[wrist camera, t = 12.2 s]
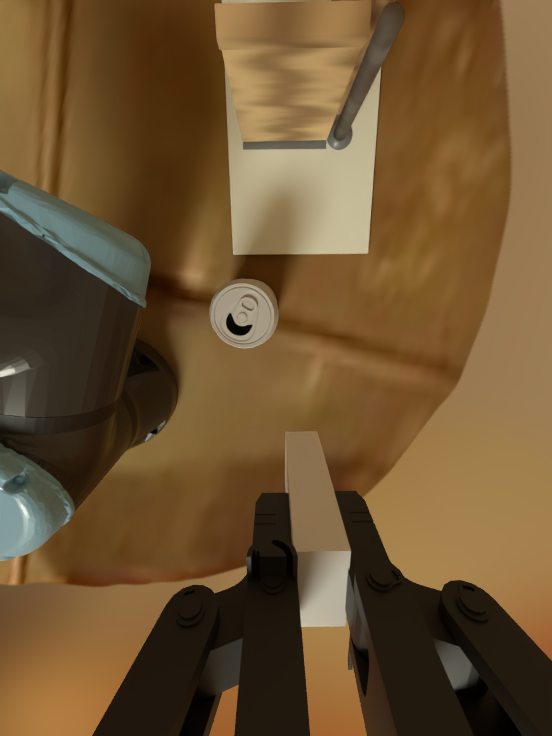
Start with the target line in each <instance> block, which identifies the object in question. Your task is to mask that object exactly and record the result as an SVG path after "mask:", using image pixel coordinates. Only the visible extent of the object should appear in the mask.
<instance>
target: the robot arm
mask: <svg viewBox="0 0 552 736" xmlns="http://www.w3.org/2000/svg"><path fill="white" fill-rule="evenodd" d="M150 268H151V260H150V256H149V253H148V251H147V250H146V248H145V247H144V245H143V244H142V243H141V242H140V241H139V240H137V239H136V238H134V237H133V236H131V235H129V234H128V233H126V232H124V231H122V230H120V229H118V228H116V227H115V226H113V225H111V224H109V223H107V222H105V221H103V220H101V219H99V218H97V217H95V216H93V215H91V214H89V213H87V212H85V211H83V210H81V209H79V208H77V207H75V206H73V205H71V204H69V203H67V202H65V201H63V200H61V199H59V198H57V197H55V196H53V195H51V194H49V193H47V192H45V191H43V190H41V189H39V188H37V187H35V186H32V185H30V184H28V183H26V182H24V181H22V180H19V179H17V178H15V177H13V176H12V175H9V174H7V173H5V172H3V171H1V170H0V561H5V560H9V559H12V558H15V557H17V556H22V555H26V554H28V553H30V552H32V551H34V550H36V549H37V548H39V547H40V546H41V545H43V544H44V543H45V542H46V541H47V540H48V539H49V538H50V537H51V536H52V535H53V534H54V533H55V532H56V531H57V530H58V529H59V528H60V527H61V526H63V525H64V524H66V523H67V522H68V521H69V520H70V519H71V518H72V515H73V513H74V512H75V510H76V509H77V508H78V507H79V506H80V505H81V503H82V502H83V501H84V500H85V499H86V497H87V496H88V495H89V494H90V493H91V492H92V490H93V489H94V488H95V487H96V486H97V484H98V483H99V482H100V481H101V480H102V479H103V477H104V476H105V475H106V474H107V473H108V471H109V470H110V469H111V468H112V467H113V466H114V464H115V463H116V462H117V461H118V460H119V458H120V457H121V456H122V455H123V454H124V452H125V451H126V450H129V449H131V448H133V447H135V446H138V445H140V444H142V443H144V442H146V441H148V440H150V439H151V438H153V437H154V436H156V435H157V434H158V433H159V432H160V431H161V430H162V429H163V428H164V426H165V425H166V424H167V422H168V421H169V420H170V418H171V416H172V415H173V412H174V410H175V407H176V402H177V386H176V381H175V378H174V375H173V373H172V371H171V369H170V367H169V365H168V364H167V362H166V361H165V360H164V358H163V357H162V356H161V355H160V354H159V353H158V352H157V351H156V350H155V349H153V348H152V347H151V346H149V345H148V344H146V343H144V342H142V341H140V340H138V339H136V336H137V332H138V328H139V324H140V320H141V316H142V312H143V308H146V305H147V303H146V300H145V295H146V290H147V284H148V279H149V274H150ZM285 487H286V493H262V494H261V496H260V497H259V499H258V500H257V502H256V507H255V520H254V532H253V545H252V546H251V547H250V548H249V550H248V553H247V556H246V560H247V575H246V576H245V577H244V578H243V580H242V581H240V582H239V583H238V584H236V585H235V586H233V587H231V588H229V589H226V590H223V591H221V592H218V593H214V592H213V591H212V590H211V589H210V588H208V587H206V586H203V585H192V586H189V587H186V588H183V589H182V590H180V591H179V592H178V593H176V594H175V595H173V597H172V598H171V599H170V601H169V602H168V603H167V605H166V606H165V608H164V610H163V611H162V613H161V615H160V617H159V619H158V620H157V622H156V624H155V626H154V628H153V629H152V631H151V633H150V634H149V636H148V638H147V640H146V641H145V643H144V645H143V647H142V649H141V650H140V652H139V654H138V656H137V657H136V659H135V661H134V663H133V665H132V666H131V668H130V670H129V672H128V673H127V675H126V677H125V679H124V681H123V682H122V684H121V686H120V688H119V689H118V691H117V693H116V695H115V696H114V698H113V700H112V702H111V704H110V705H109V707H108V709H107V711H106V712H105V714H104V716H103V718H102V719H101V721H100V723H99V725H98V726H97V728H96V730H95V732H94V734H93V735H92V736H209V734H210V731H211V727H212V724H213V721H214V718H215V715H216V711H217V708H218V705H219V701H220V698H221V695H222V692H223V691H225V690H227V689H230V688H232V687H234V686H236V685H238V684H239V688H238V700H237V712H236V724H235V735H234V736H310V729H309V716H308V704H307V692H306V679H305V667H304V655H303V643H302V630H301V627H316V626H317V627H322V626H323V627H325V626H345V624H346V615H347V620H348V624H349V629H350V640H349V652H348V670H350V669H351V670H352V667H353V668H354V673H355V678H356V683H357V688H358V692H359V698H360V702H361V708H362V713H363V718H364V723H365V728H366V733H367V736H552V661H551V660H550V659H549V658H548V657H547V655H546V654H545V653H544V652H543V651H542V650H541V649H540V648H539V647H538V646H537V645H536V644H535V643H534V641H533V640H532V639H531V638H530V637H529V636H528V635H527V634H526V633H525V632H524V631H523V630H522V629H521V627H520V626H518V624H517V623H516V622H515V621H514V620H513V619H512V618H511V617H510V616H509V615H508V614H507V613H506V612H505V610H504V609H503V608H502V607H501V606H500V605H499V604H498V603H497V602H496V601H495V600H494V599H493V598H492V597H491V596H490V595H489V594H488V593H486V592H485V591H484V590H483V589H481V588H479V587H477V586H476V585H474V584H472V583H468V582H465V581H461V580H457V581H450V582H448V583H446V584H445V585H444V587H443V589H442V591H439V590H436V589H432V588H429V587H425V586H422V585H419V584H416V583H414V582H412V581H410V580H408V579H406V578H405V577H404V576H403V575H402V573H401V571H400V570H399V569H397V568H396V567H395V566H394V565H393V564H392V563H391V562H390V560H389V558H388V556H387V553H386V551H385V549H384V546H383V544H382V541H381V539H380V536H379V534H378V531H377V529H376V526H375V524H374V523H373V519H372V517H371V515H370V513H369V509H368V507H367V504H366V502H365V500H364V499H363V498H362V497H361V496H360V495H359V494H358V493H357V492H356V491H334V489H333V486H332V482H331V479H330V475H329V472H328V468H327V464H326V461H325V457H324V454H323V450H322V447H321V443H320V440H319V436H318V433H317V431H305V432H285Z"/></svg>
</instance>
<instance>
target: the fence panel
mask: <svg viewBox="0 0 552 736" xmlns="http://www.w3.org/2000/svg"><path fill="white" fill-rule="evenodd" d="M371 1H372V0H361V1H313V2H265V3H217V4H215V20H216V37H217V42H218V46H219V50H222V54H223V58H224V62H225V67H226V71H227V76H228V80H229V84H230V89H231V93H232V97H233V102H234V106H235V111H236V115H237V119H238V124H239V128H240V132H241V137H242V141H243V142H261V141H309V140H327V138H328V136H329V133H330V130H331V128H332V125H333V122H334V120H335V117H336V114H337V112H338V109H339V107H340V104H341V101H342V99H343V96H344V93H345V91H346V88H347V85H348V83H349V80H350V78H351V75H352V72H353V70H354V67H355V64H356V62H357V59H358V56H359V54H360V51H361V49H362V47H365V46H366V43H367V41H368V38H369V35H370V20H371ZM403 21H404V10H403V8H402V6H401V5H400V4H399V3H397V2H391V3H389V4H387V5H386V6H385V7H384V9H383V11H382V13H381V15H380V18H379V20H378V23H377V25H376V28H375V30H374V33H373V35H372V38H371V40H370V43H369V45H368V48H367V50H366V53H365V55H364V58H363V60H362V62H361V65H360V67H359V70H358V72H357V75H356V77H355V80H354V82H353V85H352V87H351V90H350V92H349V95H348V97H347V100H346V102H345V105H344V107H343V110H342V112H341V115H340V117H339V119H338V122H337V124H336V127H335V129H334V133H333V134H334V138H335V139H336V140H338V141H342V140H344V139H345V137H346V135H347V133H348V131H349V129H350V127H351V125H352V123H353V121H354V119H355V117H356V115H357V113H358V111H359V109H360V107H361V105H362V103H363V101H364V99H365V98H366V96H367V94H368V92H369V90H370V88H371V86H372V84H373V82H374V80H375V78H376V76H377V74H378V72H379V70H380V68H381V66H382V64H383V62H384V60H385V58H386V56H387V54H388V52H389V50H390V48H391V46H392V44H393V42H394V40H395V38H396V36H397V34H398V32H399V30H400V28H401V26H402V24H403Z"/></svg>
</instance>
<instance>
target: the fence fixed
mask: <svg viewBox="0 0 552 736" xmlns="http://www.w3.org/2000/svg"><path fill="white" fill-rule="evenodd" d="M340 1H361V0H340ZM395 1H400V0H372V1H371V20H370V35H369V38H368V41H367V43H366V46H365V47H362V49H361V51H360V54H359V56H358V59H357V62H356V64H355V67H354V70H353V72H352V75H351V78H350V80H349V83H348V85H347V88H346V91H345V93H344V96H343V99H342V101H341V104H340V107H339V109H338V112H337V114H336V115H341V112H342V110H343V107H344V105H345V102H346V100H347V97H348V95H349V92H350V90H351V87H352V85H353V82H354V80H355V77H356V75H357V72H358V70H359V67H360V65H361V62H362V60H363V58H364V55H365V53H366V50H367V48H368V45H369V43H370V40H371V38H372V35H373V33H374V30H375V28H376V25H377V23H378V20H379V18H380V15H381V13H382V11H383V9H384V7H385V6H386V5H387V4H389V3H391V2H395Z"/></svg>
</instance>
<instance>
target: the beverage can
mask: <svg viewBox="0 0 552 736" xmlns="http://www.w3.org/2000/svg"><path fill="white" fill-rule="evenodd" d="M210 320H211V324H212V327H213V329H214V330H215V332H216V333H217V335H218V336H219V337H220V338H221V339H222V340H223V341H224V342H226V343H228V344H229V345H232V346H234V347H238V348H252V347H256V346H258V345H260V344H262V343H264V342H265V341H266V340H268V339H269V338H270V337H271V335H272V334H273V332H274V331H275V328H276V326H277V323H278V306H277V300H276V297H275V294H274V292H273V291H272V289H271V288H270V287H269V286H268V285H267V284H265V283H264V282H261V281H259V280H255V279H236V280H232V281H230V282H228V283H226V284H224V285H223V286H222V287H221V288H220V289H219V290H218V291H217V292H216V293H215V295H214V297H213V299H212V301H211V305H210Z"/></svg>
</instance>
